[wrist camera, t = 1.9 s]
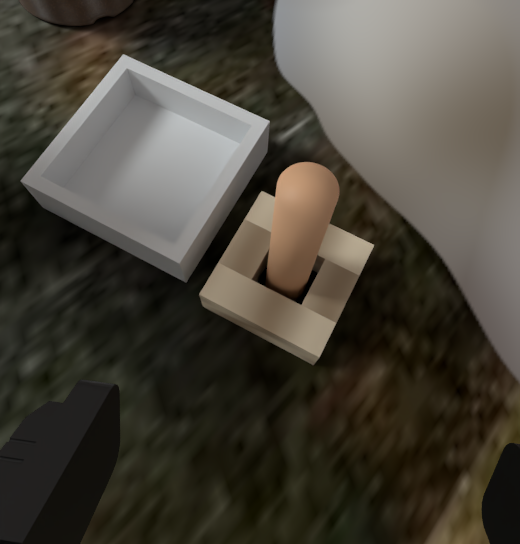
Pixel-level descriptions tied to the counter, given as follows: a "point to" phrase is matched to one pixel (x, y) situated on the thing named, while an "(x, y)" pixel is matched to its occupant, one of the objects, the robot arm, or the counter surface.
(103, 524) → the counter surface
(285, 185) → the dowel
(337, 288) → the dowel holder
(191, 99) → the tray
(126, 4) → the plant pot
